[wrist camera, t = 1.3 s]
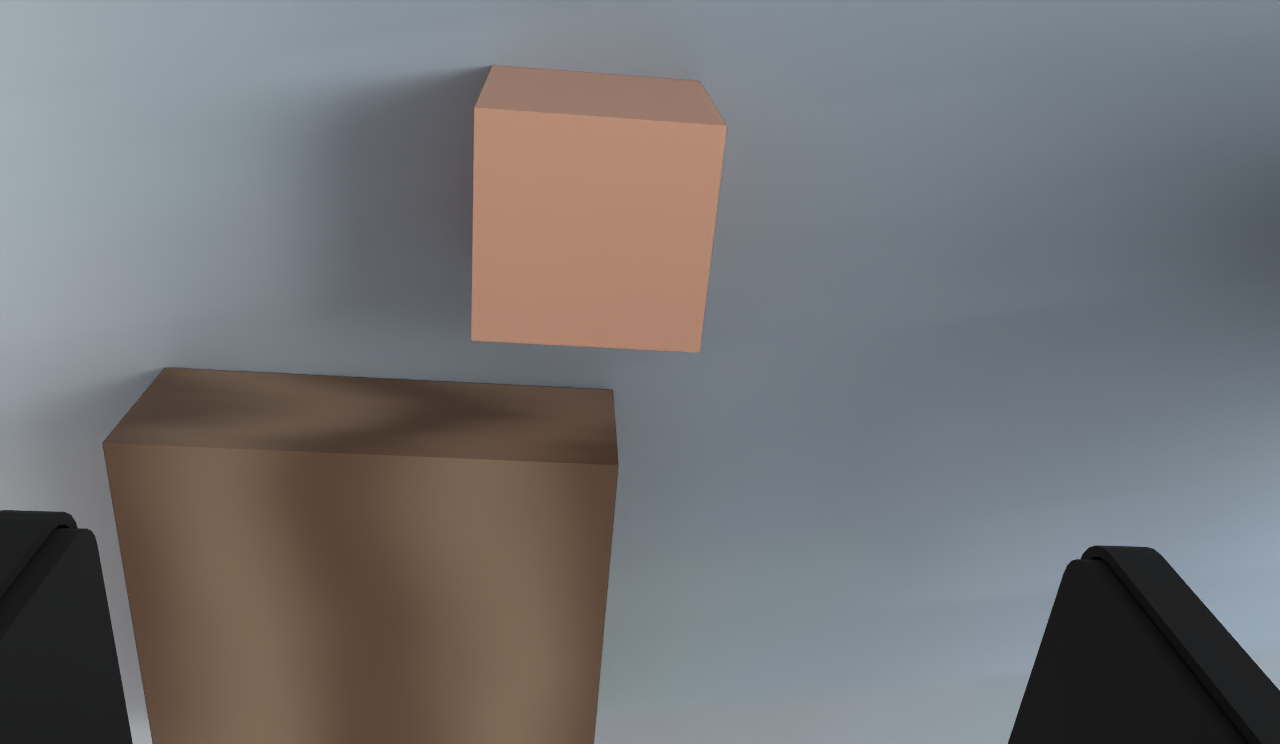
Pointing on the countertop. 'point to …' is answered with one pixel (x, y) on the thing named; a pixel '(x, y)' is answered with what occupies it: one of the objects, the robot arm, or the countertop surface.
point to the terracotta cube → (593, 209)
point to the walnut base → (365, 557)
